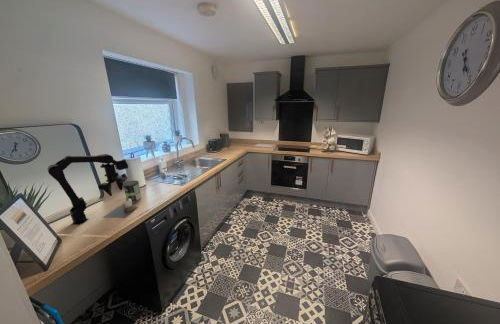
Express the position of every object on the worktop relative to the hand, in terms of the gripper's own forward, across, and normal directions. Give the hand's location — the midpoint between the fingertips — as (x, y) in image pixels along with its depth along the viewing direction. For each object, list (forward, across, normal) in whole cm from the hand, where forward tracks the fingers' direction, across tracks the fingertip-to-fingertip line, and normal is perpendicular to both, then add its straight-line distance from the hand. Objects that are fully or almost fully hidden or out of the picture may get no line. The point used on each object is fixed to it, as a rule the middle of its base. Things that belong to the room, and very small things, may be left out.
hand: (116, 192), depth 133 cm
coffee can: (+12, +13, -2) cm, 18 cm away
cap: (+9, -3, -10) cm, 14 cm away
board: (+12, -6, -6) cm, 15 cm away
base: (+11, -3, -10) cm, 15 cm away
